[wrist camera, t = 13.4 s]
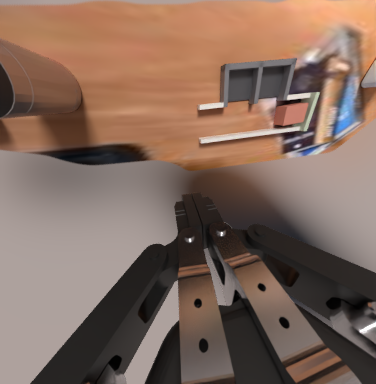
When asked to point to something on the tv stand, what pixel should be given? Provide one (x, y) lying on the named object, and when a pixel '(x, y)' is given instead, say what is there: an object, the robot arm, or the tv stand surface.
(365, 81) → the photo printer
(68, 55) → the tv stand surface
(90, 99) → the tv stand surface
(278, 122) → the red block
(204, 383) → the robot arm
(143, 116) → the tv stand surface
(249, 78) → the box
